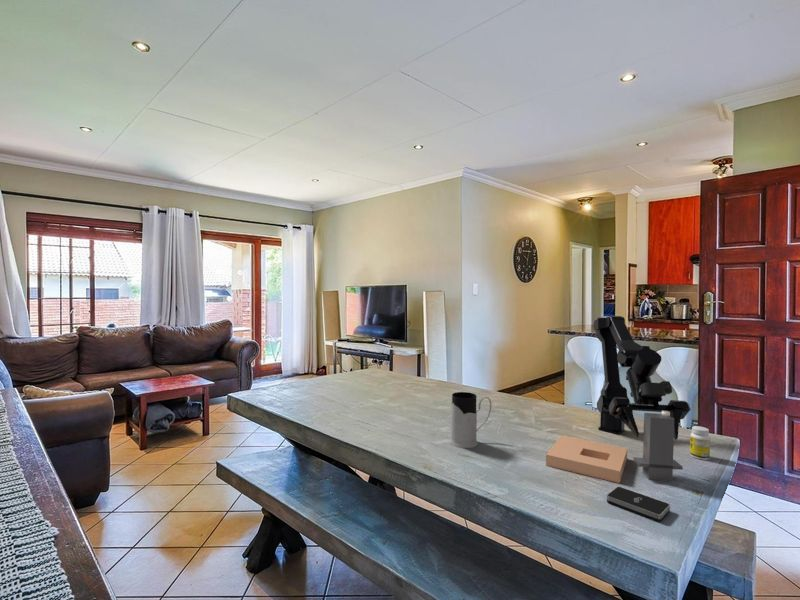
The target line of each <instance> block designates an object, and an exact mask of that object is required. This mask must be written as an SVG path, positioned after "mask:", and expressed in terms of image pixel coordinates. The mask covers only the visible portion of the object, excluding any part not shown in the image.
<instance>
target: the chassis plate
mask: <svg viewBox="0 0 800 600" xmlns="http://www.w3.org/2000/svg"><path fill="white" fill-rule="evenodd" d="M627 461H628V448H627V447H623V446H617V445H612V444H608V443H607V444H606V443H603V442H597V441H593V440H587V439H582V438H577V437H572V436H567V435H563V434H562V435H560V437H558V439H557V440H556V441H555V442H554V444H553V445H552V447H551V448H550V449H549V451H548V452H547V453H546V455H545V466H546V467H547V466H548V467H551V468H555V469H556V468H557V469H559V470H563V471H568V472H571V473H572V472H573V473H576V474H580V475H585V476H589V477H593V478H595V479H596V478H597V479H600V480H606V481H609V482H613V483H616V484H617V483H618V484H620V483H621V480H622V477H623V474H624V471H625V467H626V464H627Z"/></svg>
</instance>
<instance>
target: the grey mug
mask: <svg viewBox="0 0 800 600" xmlns="http://www.w3.org/2000/svg"><path fill="white" fill-rule="evenodd" d="M451 395H452V396H451V404H450V405H451V408H450V409H451V410H450V411H451V412H450V415H451V417H450V420H451V421H450V425H451V426H450V428H451V429H450V439H449V444H450V445H451V446H453V447H456V448H460V449H461V448H463V449H470V448H471V449H472V448H475V447H477V446H478V445H479V444H478V439H477V432H478V431H479V430H480V429H481V428H482V427H483V425H484V424H485V423H487V421H488V419H489V418H490V414H491V412H492V400H491V398H490V397H488V396H483V397H482V396H481V398H480V399H479V401H478V408H477V394H475V393H473V392H467V391H458V392H457V391H456V392H453V393H452V394H451ZM484 399H487V400H488V401H489V408H488V413H487V415H486V417H485V419H484V420H483V421H482V422H481V424H480V425H479V426H478V427H477V424H478V423H477V422H478V418H477V416H478V412H479V411H481V406H482V405H481V404H482V401H483V400H484Z"/></svg>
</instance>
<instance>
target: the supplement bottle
mask: <svg viewBox="0 0 800 600" xmlns="http://www.w3.org/2000/svg"><path fill="white" fill-rule="evenodd" d="M709 435H710V430H709V428H707V427H704V426H700V425H694V426H692V427H691V433H690V436H689V455H690V456H691V457H692V458H695V459H697V460H701V461H702V460H703V461H705V460H706V461H708V460H710V458H711V457H710V456H711V437H710V436H709Z"/></svg>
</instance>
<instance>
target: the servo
mask: <svg viewBox="0 0 800 600" xmlns="http://www.w3.org/2000/svg"><path fill="white" fill-rule="evenodd" d="M642 439H643V441H642V443H643V444H642V457H638V456H637V457H636V456H633V461H634V462H635V463H636V465H637V466H638V467H641V468H642V474H643V475H644V476H645V477H646V478H647V479H648V481H649V480H650V481H665V482H673V475H674V471H673V470H683V468H684V467H683V465H682V464H680V463H679V462H678V461H677V460H676V459H674V440H675V439H674V418H672V417H671V416H670V412H669V411H662V412H661V413H657V412H653V413H652V412H644V413H643V438H642Z"/></svg>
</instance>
